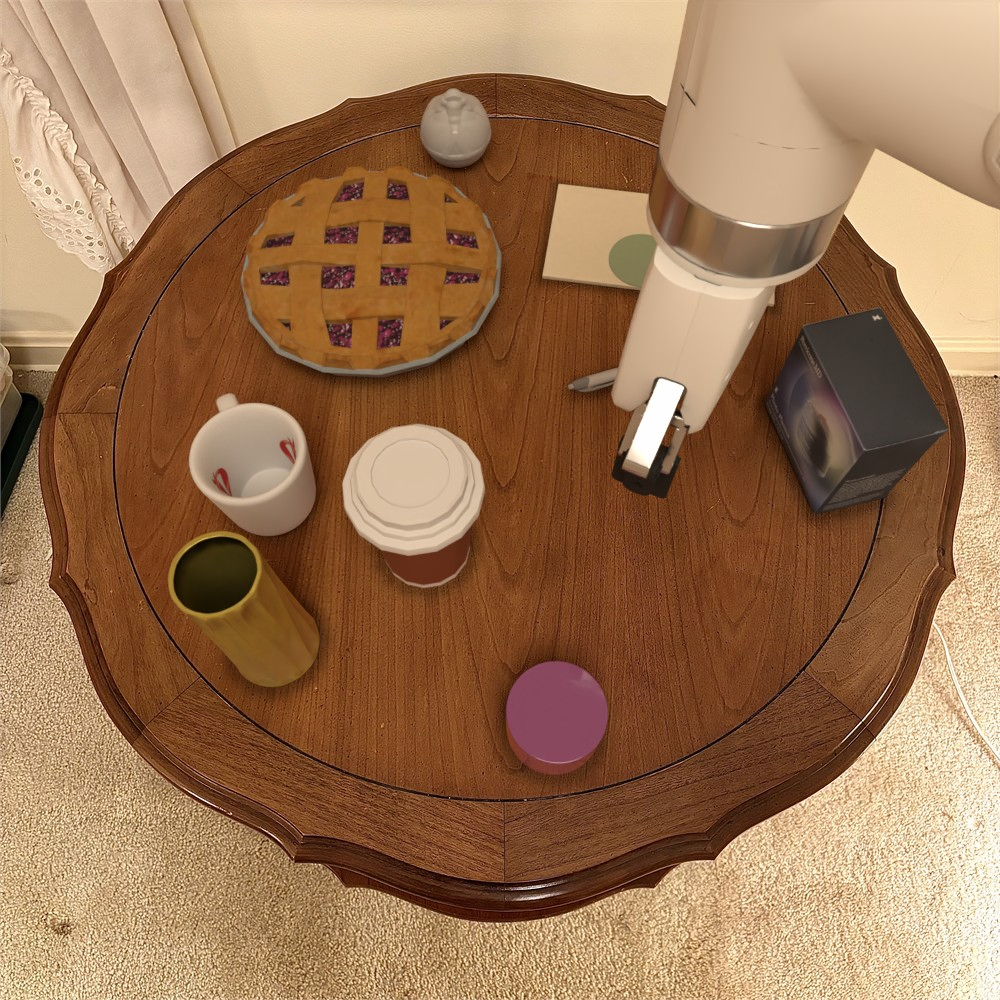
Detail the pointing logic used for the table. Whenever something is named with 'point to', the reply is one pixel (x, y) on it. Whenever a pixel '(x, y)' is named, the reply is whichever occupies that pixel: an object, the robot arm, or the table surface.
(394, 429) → the coffee cup
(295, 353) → the pie
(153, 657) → the table surface
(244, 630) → the vase
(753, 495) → the table surface
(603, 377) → the pen
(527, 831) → the table surface
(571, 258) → the placemat
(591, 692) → the purple short cylinder
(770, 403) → the small box
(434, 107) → the figurine
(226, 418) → the cup
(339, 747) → the table surface
